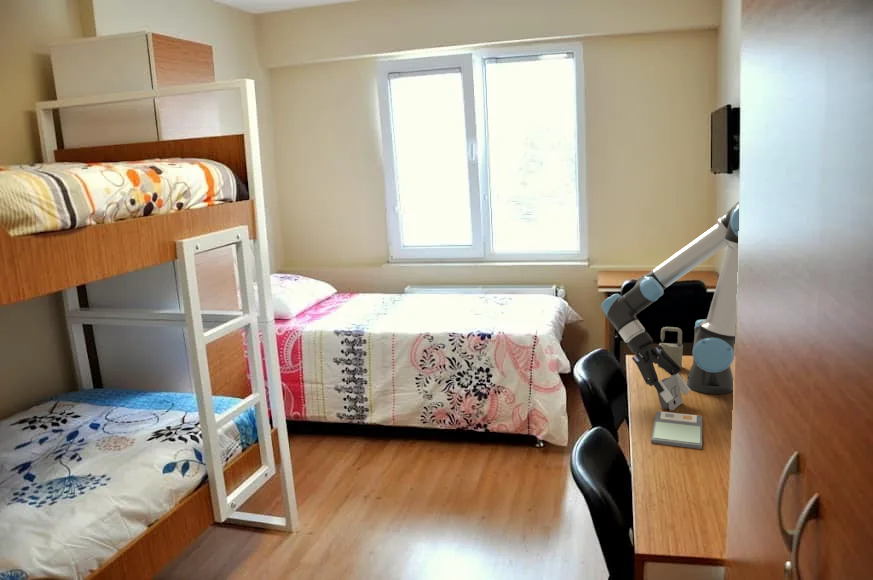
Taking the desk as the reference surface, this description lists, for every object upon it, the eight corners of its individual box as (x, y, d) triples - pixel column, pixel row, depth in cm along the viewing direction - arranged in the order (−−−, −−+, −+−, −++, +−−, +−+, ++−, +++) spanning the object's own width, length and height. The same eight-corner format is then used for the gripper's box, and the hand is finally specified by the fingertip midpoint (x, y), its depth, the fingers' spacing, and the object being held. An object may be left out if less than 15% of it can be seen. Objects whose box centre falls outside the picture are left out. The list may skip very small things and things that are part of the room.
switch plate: (656, 414, 204) (656, 409, 204) (701, 419, 200) (702, 414, 199) (650, 442, 184) (651, 437, 184) (701, 449, 180) (702, 444, 179)
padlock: (658, 363, 253) (660, 325, 250) (681, 366, 250) (683, 326, 247) (657, 366, 250) (659, 327, 247) (681, 369, 246) (682, 329, 243)
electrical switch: (672, 412, 206) (671, 382, 205) (656, 410, 209) (654, 381, 208) (683, 403, 213) (681, 374, 212) (666, 401, 216) (665, 373, 215)
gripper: (648, 337, 226) (689, 394, 217) (608, 350, 213) (650, 411, 204) (662, 324, 221) (705, 382, 212) (623, 337, 207) (667, 399, 199)
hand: (678, 396), depth 208 cm, fingers closed on electrical switch, 9 cm apart
